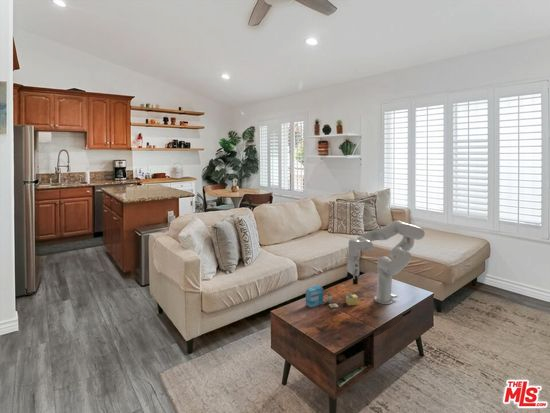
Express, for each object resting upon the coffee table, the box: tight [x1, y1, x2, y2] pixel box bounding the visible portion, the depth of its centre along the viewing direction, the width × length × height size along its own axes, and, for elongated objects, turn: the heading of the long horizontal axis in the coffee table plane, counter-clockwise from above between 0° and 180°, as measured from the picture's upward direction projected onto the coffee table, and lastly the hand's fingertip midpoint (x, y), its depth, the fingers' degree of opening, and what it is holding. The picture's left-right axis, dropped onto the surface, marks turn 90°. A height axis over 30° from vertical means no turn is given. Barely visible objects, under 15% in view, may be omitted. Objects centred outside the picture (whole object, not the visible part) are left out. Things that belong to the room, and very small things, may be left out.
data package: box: [305, 285, 324, 309], centre depth 230 cm, size 12×4×12 cm, turn 124°
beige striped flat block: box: [328, 303, 339, 309], centre depth 228 cm, size 5×4×1 cm
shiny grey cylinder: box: [327, 293, 332, 304], centre depth 234 cm, size 2×2×6 cm
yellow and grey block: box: [345, 293, 359, 306], centre depth 233 cm, size 7×5×6 cm, turn 101°
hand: (352, 281), depth 230 cm, fingers open, 9 cm apart
